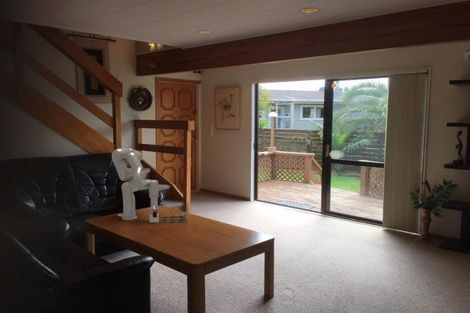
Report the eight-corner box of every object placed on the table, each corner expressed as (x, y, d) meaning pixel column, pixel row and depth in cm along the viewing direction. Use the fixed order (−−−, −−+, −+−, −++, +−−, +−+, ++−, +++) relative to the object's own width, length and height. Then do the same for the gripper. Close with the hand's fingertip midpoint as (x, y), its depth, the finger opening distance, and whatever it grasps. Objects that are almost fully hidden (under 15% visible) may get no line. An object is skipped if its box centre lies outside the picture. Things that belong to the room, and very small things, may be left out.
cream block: (149, 222, 315) (149, 215, 314) (150, 221, 319) (149, 214, 319) (158, 222, 316) (158, 215, 316) (158, 220, 321) (158, 213, 320)
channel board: (161, 223, 313) (161, 216, 312) (161, 219, 325) (161, 213, 324) (186, 222, 316) (186, 215, 316) (185, 218, 328) (185, 212, 328)
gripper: (149, 193, 323) (150, 214, 325) (148, 197, 306) (149, 218, 308) (158, 193, 325) (159, 213, 326) (158, 196, 308) (159, 218, 309)
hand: (155, 216), depth 317 cm, fingers open, 9 cm apart
